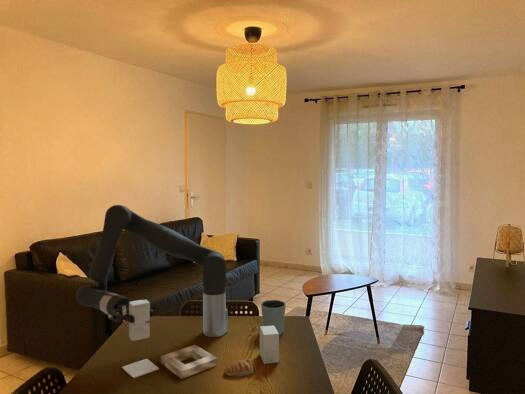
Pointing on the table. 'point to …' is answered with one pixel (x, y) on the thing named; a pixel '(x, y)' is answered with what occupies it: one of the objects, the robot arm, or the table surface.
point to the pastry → (239, 368)
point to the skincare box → (139, 319)
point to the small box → (269, 344)
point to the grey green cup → (273, 314)
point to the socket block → (185, 370)
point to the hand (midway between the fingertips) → (143, 316)
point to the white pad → (140, 368)
